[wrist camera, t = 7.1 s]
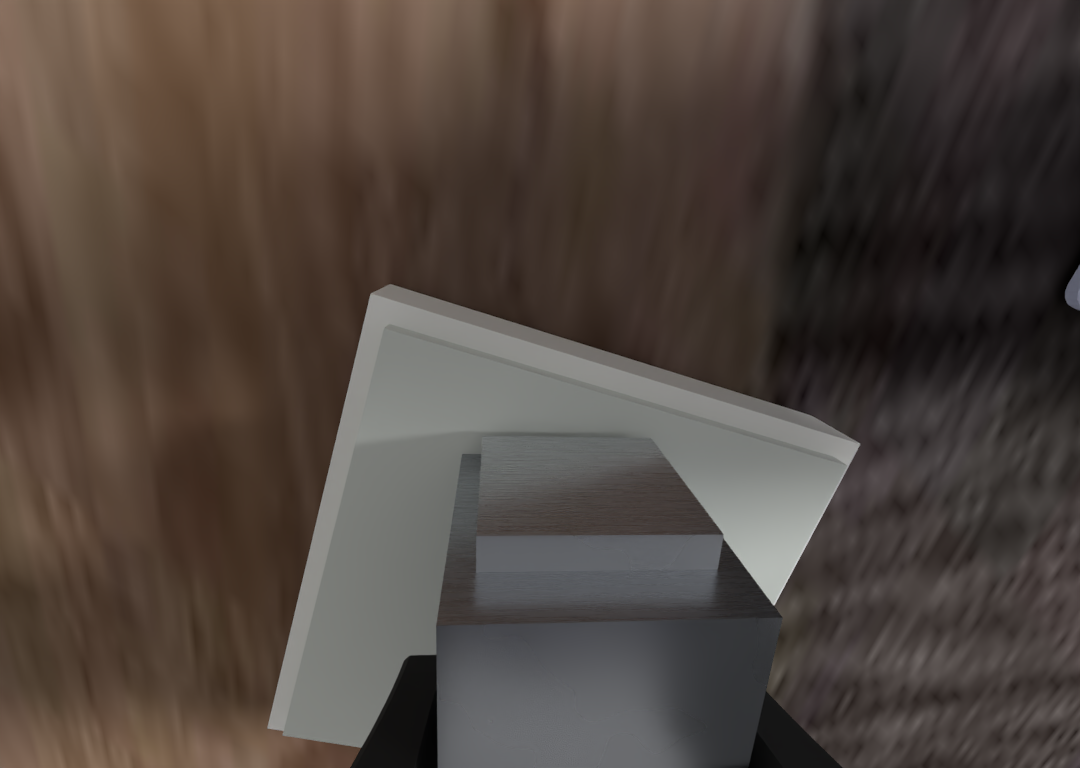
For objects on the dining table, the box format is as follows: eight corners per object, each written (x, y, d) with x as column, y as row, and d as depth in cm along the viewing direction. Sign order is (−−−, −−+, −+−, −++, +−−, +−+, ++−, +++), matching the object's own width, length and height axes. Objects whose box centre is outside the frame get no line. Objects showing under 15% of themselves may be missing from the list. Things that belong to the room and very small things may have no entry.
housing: (625, 740, 14) (692, 1008, 9) (460, 748, 13) (440, 1033, 9) (665, 431, 11) (791, 579, 6) (461, 428, 11) (435, 585, 6)
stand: (811, 415, 14) (875, 452, 12) (654, 729, 17) (680, 809, 15) (390, 284, 12) (364, 296, 10) (296, 666, 15) (258, 746, 13)
